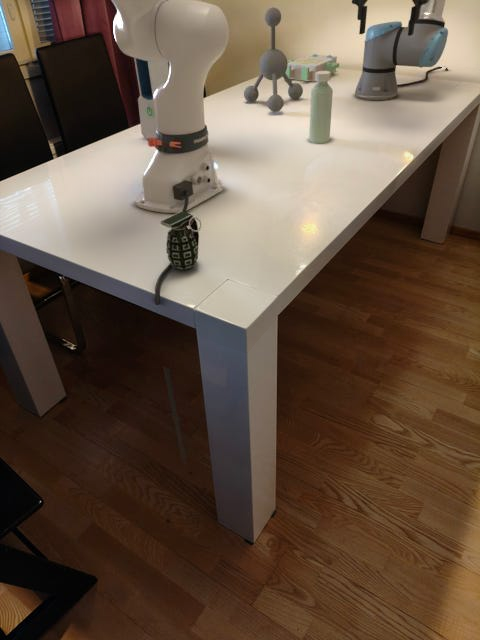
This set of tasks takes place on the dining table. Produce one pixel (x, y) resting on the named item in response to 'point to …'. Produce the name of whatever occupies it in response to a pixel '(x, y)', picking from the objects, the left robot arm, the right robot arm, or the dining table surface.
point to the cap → (322, 76)
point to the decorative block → (310, 67)
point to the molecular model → (273, 68)
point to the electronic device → (149, 92)
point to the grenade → (182, 240)
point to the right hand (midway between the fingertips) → (385, 34)
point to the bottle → (320, 112)
